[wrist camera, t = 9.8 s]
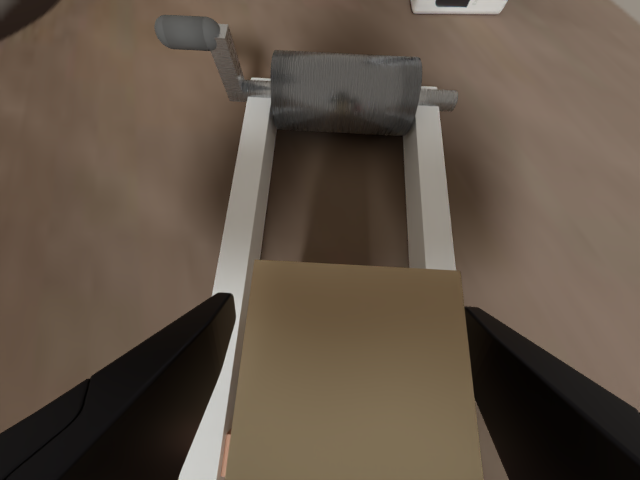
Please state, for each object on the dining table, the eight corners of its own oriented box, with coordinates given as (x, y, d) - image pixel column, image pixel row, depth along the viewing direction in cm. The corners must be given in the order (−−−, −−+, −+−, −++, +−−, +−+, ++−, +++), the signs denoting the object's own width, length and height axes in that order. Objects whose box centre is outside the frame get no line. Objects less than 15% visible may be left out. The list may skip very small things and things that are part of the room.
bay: (472, 488, 13) (620, 643, 6) (118, 465, 13) (-67, 595, 7) (434, 104, 20) (487, 3, 14) (208, 92, 20) (159, -12, 14)
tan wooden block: (372, 393, 14) (490, 539, 4) (286, 389, 14) (219, 520, 4) (372, 305, 15) (460, 270, 6) (293, 301, 15) (254, 259, 6)
